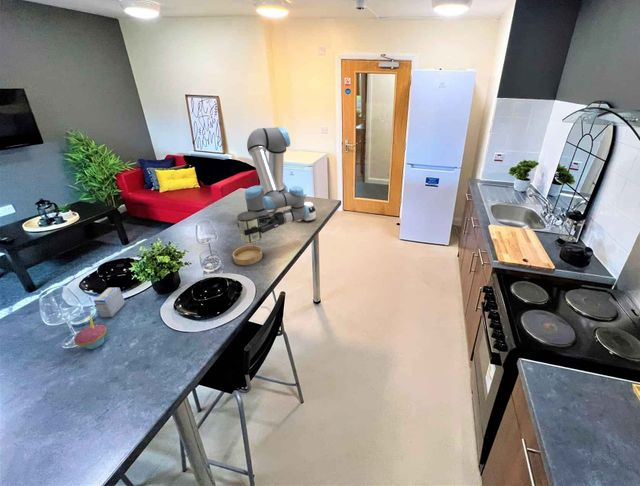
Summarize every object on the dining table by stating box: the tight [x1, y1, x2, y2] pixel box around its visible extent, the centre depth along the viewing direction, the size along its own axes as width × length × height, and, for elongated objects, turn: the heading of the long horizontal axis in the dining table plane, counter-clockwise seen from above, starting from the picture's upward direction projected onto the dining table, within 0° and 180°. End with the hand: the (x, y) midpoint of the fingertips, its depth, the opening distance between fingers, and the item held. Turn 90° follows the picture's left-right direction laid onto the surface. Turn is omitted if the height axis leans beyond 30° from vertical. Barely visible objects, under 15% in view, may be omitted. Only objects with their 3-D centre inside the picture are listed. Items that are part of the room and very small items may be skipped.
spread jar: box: [296, 201, 317, 223], centre depth 196 cm, size 12×11×12 cm
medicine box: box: [93, 287, 126, 318], centre depth 116 cm, size 8×4×9 cm, turn 5°
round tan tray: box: [231, 244, 263, 266], centre depth 155 cm, size 15×15×4 cm
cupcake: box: [73, 314, 108, 350], centre depth 101 cm, size 9×8×12 cm
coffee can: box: [236, 210, 263, 245], centre depth 150 cm, size 10×10×14 cm
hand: (241, 228), depth 147 cm, fingers closed on coffee can, 10 cm apart
